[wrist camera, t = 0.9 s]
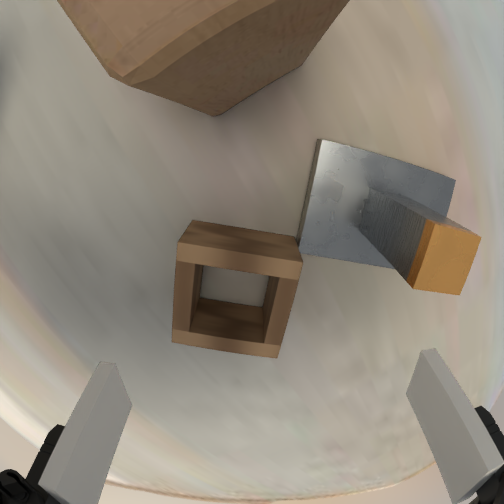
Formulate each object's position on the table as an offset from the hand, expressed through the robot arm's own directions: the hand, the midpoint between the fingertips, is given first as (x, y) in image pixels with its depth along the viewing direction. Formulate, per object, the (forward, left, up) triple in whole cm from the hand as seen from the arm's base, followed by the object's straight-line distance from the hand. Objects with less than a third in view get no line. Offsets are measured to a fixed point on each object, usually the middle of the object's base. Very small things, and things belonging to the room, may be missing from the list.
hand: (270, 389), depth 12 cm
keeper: (+10, +5, -18) cm, 22 cm away
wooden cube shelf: (-2, -4, -18) cm, 19 cm away
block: (-6, +17, -19) cm, 26 cm away
